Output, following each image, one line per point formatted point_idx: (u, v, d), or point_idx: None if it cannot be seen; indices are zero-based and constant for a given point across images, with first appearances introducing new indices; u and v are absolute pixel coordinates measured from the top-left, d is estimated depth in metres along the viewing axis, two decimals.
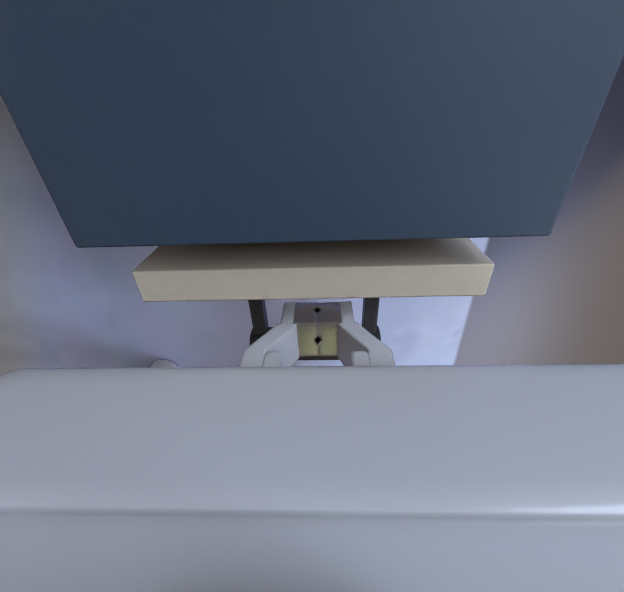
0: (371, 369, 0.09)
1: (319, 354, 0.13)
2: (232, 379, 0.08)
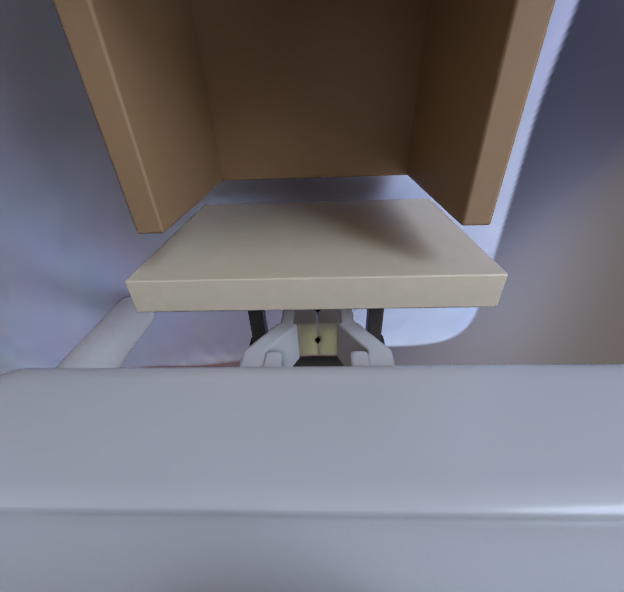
0: (371, 369, 0.09)
1: (319, 354, 0.13)
2: (232, 379, 0.08)
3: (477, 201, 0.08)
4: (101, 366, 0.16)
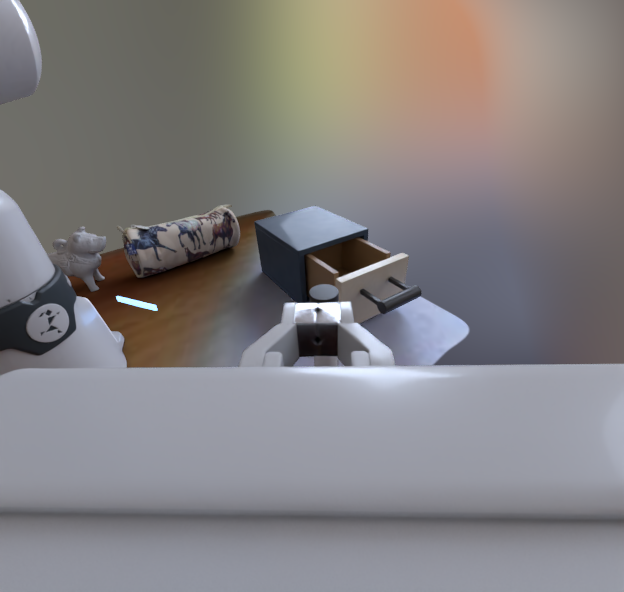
0: (371, 369, 0.09)
1: (319, 354, 0.13)
2: (232, 379, 0.09)
3: (384, 251, 0.44)
4: None
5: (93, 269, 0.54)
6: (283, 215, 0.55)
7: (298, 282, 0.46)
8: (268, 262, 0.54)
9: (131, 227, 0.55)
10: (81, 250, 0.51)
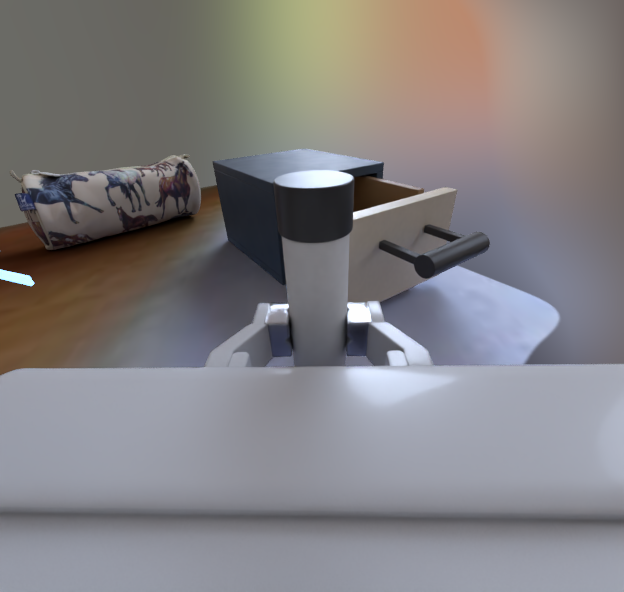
0: (371, 369, 0.09)
1: (347, 354, 0.13)
2: (232, 379, 0.09)
3: (414, 188, 0.27)
4: None
5: None
6: (256, 156, 0.38)
7: (275, 242, 0.29)
8: (234, 222, 0.36)
9: (32, 173, 0.37)
10: None
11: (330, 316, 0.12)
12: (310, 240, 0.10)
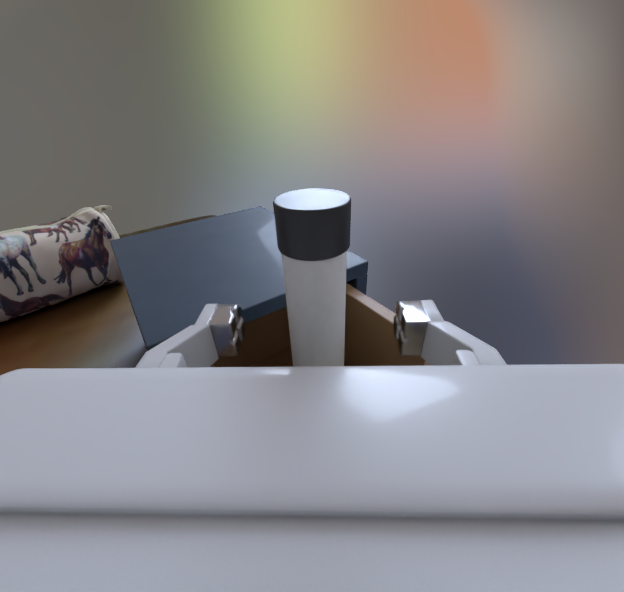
0: (371, 369, 0.09)
1: (402, 353, 0.13)
2: (232, 379, 0.09)
3: None
4: None
5: None
6: (183, 226, 0.25)
7: None
8: None
9: None
10: None
11: (328, 328, 0.12)
12: (309, 258, 0.10)
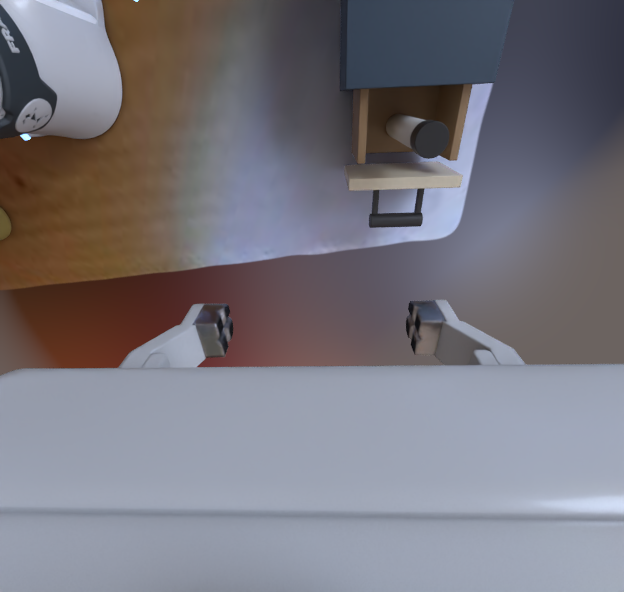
0: (371, 369, 0.09)
1: (416, 353, 0.13)
2: (232, 379, 0.08)
3: (453, 153, 0.31)
4: None
5: None
6: None
7: (342, 82, 0.31)
8: None
9: None
10: None
11: None
12: (414, 150, 0.26)
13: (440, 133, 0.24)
